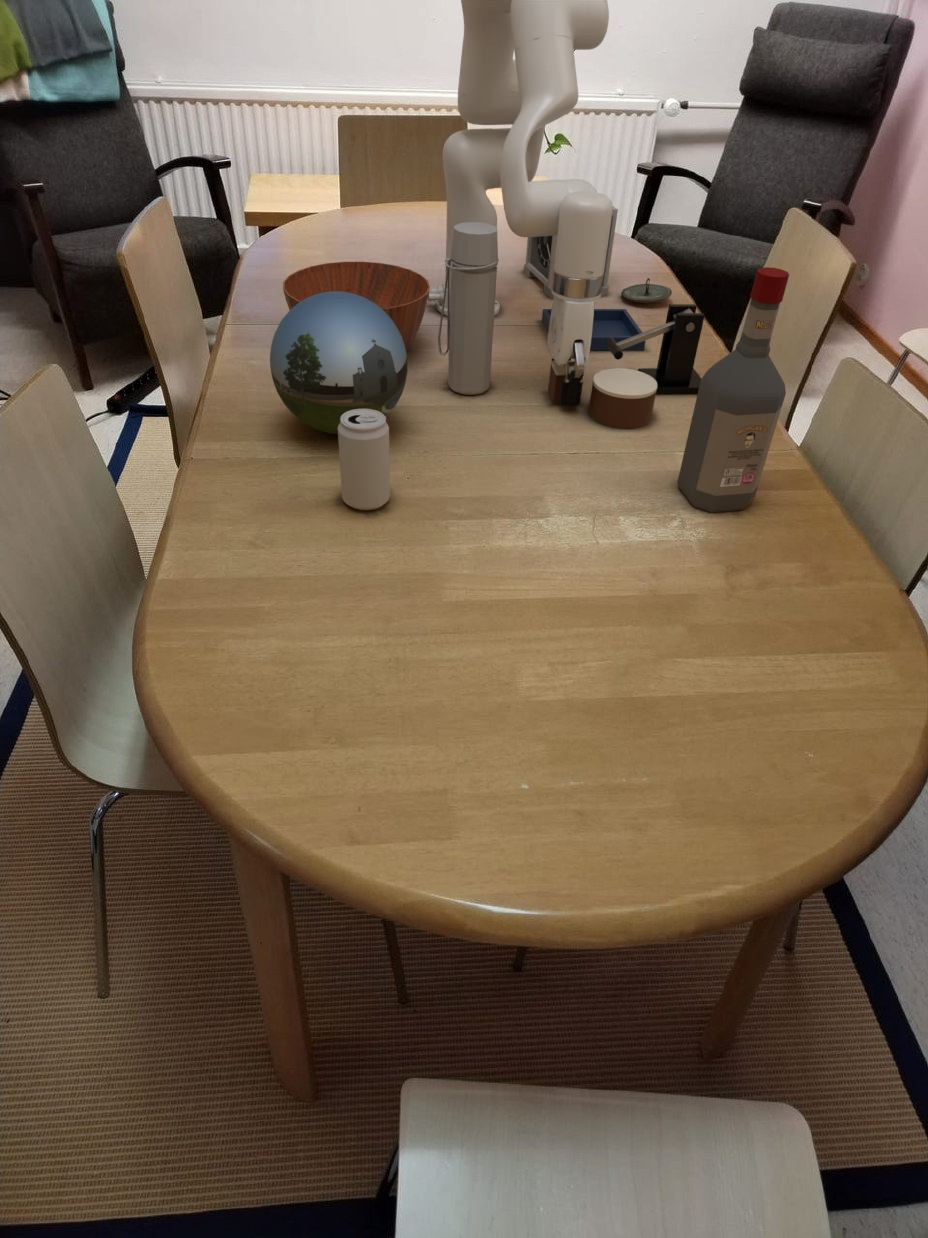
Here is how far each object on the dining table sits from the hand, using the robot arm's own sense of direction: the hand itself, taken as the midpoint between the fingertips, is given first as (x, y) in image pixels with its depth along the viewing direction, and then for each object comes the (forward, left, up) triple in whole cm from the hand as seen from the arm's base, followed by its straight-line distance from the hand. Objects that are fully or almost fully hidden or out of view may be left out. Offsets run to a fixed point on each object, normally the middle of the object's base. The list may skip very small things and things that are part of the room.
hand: (564, 392), depth 138 cm
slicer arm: (+15, +5, +7) cm, 17 cm away
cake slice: (0, 0, -1) cm, 1 cm away
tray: (+11, +27, -1) cm, 29 cm away
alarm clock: (+12, +57, -1) cm, 58 cm away
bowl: (-33, +21, -1) cm, 39 cm away
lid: (+27, +46, -1) cm, 53 cm away
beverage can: (-33, -30, -1) cm, 45 cm away
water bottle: (-16, +5, -1) cm, 17 cm away
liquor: (+15, -31, -1) cm, 34 cm away
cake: (+8, -6, -1) cm, 10 cm away
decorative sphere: (-36, -9, -1) cm, 37 cm away
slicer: (+20, +5, -1) cm, 21 cm away
